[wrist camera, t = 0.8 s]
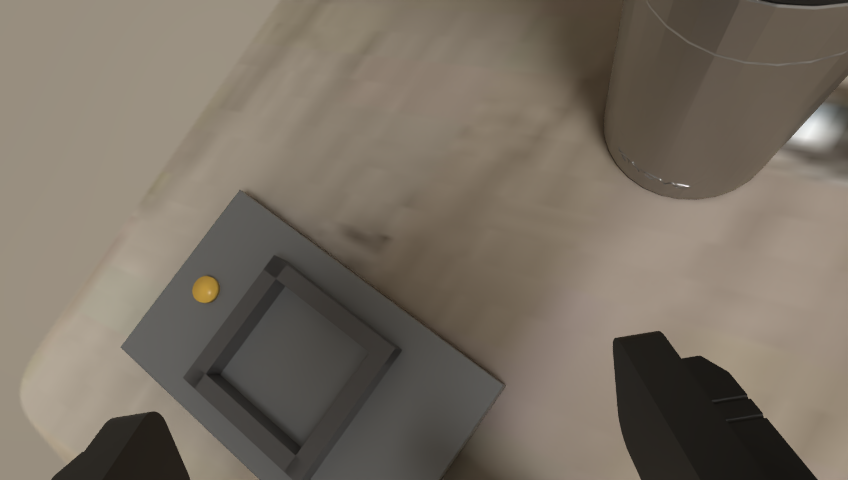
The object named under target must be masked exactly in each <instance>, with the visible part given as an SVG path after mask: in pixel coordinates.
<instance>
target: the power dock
mask: <svg viewBox="0 0 848 480" xmlns="http://www.w3.org/2000/svg"><path fill="white" fill-rule="evenodd" d="M121 348H122V349H123V350H124V351H125V352H126V353H127V354H128V355H129V356H130V357H131V358H132V359H133V360H134V361H136V362H137V363H138V364H139V365H140V366H141V367H142V368H143V369H144V370H145V371H146V372H147V373H148V374H149V375H150V376H151V377H152V378H153V379H154V380H156V381H157V382H158V383H159V384H160V385H161V386H162V387H163V388H164V389H165V390H166V391H167V392H168V393H169V394H170V395H171V396H172V397H173V398H174V399H176V400H177V401H178V402H179V403H180V404H181V405H182V406H183V407H184V408H185V409H186V410H187V411H188V412H189V413H190V414H191V415H192V416H193V417H194V418H196V419H197V420H198V421H199V422H200V423H201V424H202V425H203V426H204V427H205V428H206V429H207V430H208V431H209V432H210V433H211V434H212V435H213V436H214V437H215V438H217V439H218V440H219V441H220V442H221V443H222V444H223V445H224V446H225V447H226V448H227V449H228V450H229V451H230V452H231V453H232V454H233V455H234V456H235V457H237V458H238V459H239V460H240V461H241V462H242V463H243V464H244V465H245V466H246V467H247V468H248V469H249V470H250V471H251V472H252V473H253V474H254V475H255V476H257V477H258V478H259V479H260V480H441V479H442V477H443V476H444V475H445V473H446V472H447V470H448V469H449V467H450V466H451V464H452V463H453V462H454V460H455V459H456V457H457V456H458V454H459V453H460V451H461V450H462V449H463V447H464V446H465V444H466V443H467V441H468V440H469V438H470V437H471V436H472V434H473V433H474V431H475V430H476V428H477V427H478V425H479V424H480V423H481V421H482V420H483V418H484V417H485V415H486V414H487V412H488V411H489V410H490V408H491V407H492V405H493V404H494V402H495V401H496V399H497V398H498V397H499V395H500V394H501V392H502V391H503V389H504V388H505V386H506V385H504V384H503V383H502V382H500V381H499V380H498V379H496V378H495V377H494V376H492V375H491V374H490V373H488V372H487V371H486V370H484V369H483V368H481V367H480V366H479V365H477V364H476V363H475V362H473V361H472V360H471V359H469V358H468V357H467V356H465V355H464V354H463V353H461V352H460V351H459V350H457V349H456V348H454V347H453V346H452V345H450V344H449V343H448V342H446V341H445V340H444V339H442V338H441V337H440V336H438V335H437V334H436V333H434V332H433V331H432V330H430V329H429V328H427V327H426V326H425V325H423V324H422V323H421V322H419V321H418V320H417V319H415V318H414V317H413V316H411V315H410V314H409V313H407V312H406V311H405V310H403V309H402V308H400V307H399V306H398V305H396V304H395V303H394V302H392V301H391V300H390V299H388V298H387V297H386V296H384V295H383V294H382V293H380V292H379V291H378V290H376V289H375V288H373V287H372V286H371V285H369V284H368V283H367V282H365V281H364V280H363V279H361V278H360V277H359V276H357V275H356V274H355V273H353V272H352V271H351V270H349V269H348V268H346V267H345V266H344V265H342V264H341V263H340V262H338V261H337V260H336V259H334V258H333V257H332V256H330V255H329V254H328V253H326V252H325V251H324V250H322V249H321V248H319V247H318V246H317V245H315V244H314V243H313V242H311V241H310V240H309V239H307V238H306V237H305V236H303V235H302V234H301V233H299V232H298V231H297V230H295V229H294V228H292V227H291V226H290V225H288V224H287V223H286V222H284V221H283V220H282V219H280V218H279V217H278V216H276V215H275V214H274V213H272V212H271V211H270V210H268V209H267V208H265V207H264V206H263V205H261V204H260V203H259V202H257V201H256V200H255V199H253V198H252V197H250V196H249V195H247V194H246V193H244V192H243V191H241V190H239V192H238V193H237V194H236V196H235V197H234V198H233V200H232V201H231V202H230V204H229V205H228V206H227V208H226V209H225V210H224V212H223V213H222V214H221V215H220V217H219V218H218V219H217V221H216V222H215V223H214V225H213V226H212V227H211V229H210V230H209V231H208V233H207V234H206V235H205V237H204V238H203V239H202V241H201V242H200V243H199V244H198V246H197V247H196V248H195V250H194V251H193V252H192V254H191V255H190V256H189V258H188V259H187V260H186V262H185V263H184V264H183V266H182V267H181V268H180V270H179V271H178V272H177V273H176V275H175V276H174V277H173V279H172V280H171V281H170V283H169V284H168V285H167V287H166V288H165V289H164V291H163V292H162V293H161V295H160V296H159V297H158V299H157V300H156V301H155V303H154V304H153V305H152V306H151V308H150V309H149V310H148V312H147V313H146V314H145V316H144V317H143V318H142V320H141V321H140V322H139V324H138V325H137V326H136V328H135V329H134V330H133V332H132V333H131V334H130V335H129V337H128V338H127V339H126V341H125V342H124V343H123V345H122V346H121Z"/></svg>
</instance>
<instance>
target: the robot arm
mask: <svg viewBox="0 0 848 480" xmlns="http://www.w3.org/2000/svg"><path fill="white" fill-rule="evenodd" d="M847 76H848V0H624V2H623V8H622V14H621V20H620V25H619V31H618V37H617V43H616V49H615V55H614V61H613V66H612V72H611V78H610V83H609V89H608V95H607V102H606V108H605V114H604V120H603V121H604V136H605V139H606V143H607V146H608V149H609V152H610V153H611V155H612V157H613V159H614V160H615V162H616V164H617V165H618V166H619V167H620V168H621V170H622V171H623V172H624V173H625V174H626V175H627V176H628V177H629V178H630V179H632V180H633V181H635V182H636V183H638V184H639V185H640V186H642V187H643V188H646V189H648V190H650V191H652V192H655V193H657V194H659V195H663V196H668V197H672V198H676V199H695V200H697V199H704V198H711V197H716V196H719V195H722V194H725V193H728V192H730V191H733V190H735V189H737V188H738V187H740V186H741V185H743V184H745V183H746V182H748V181H750V180H751V179H752V178H753V177H754V176H755V175H756V174H757V173H758V172H759V171H760V170H761V169H762V168H763V167H764V166H765V165H766V164H767V163H768V162H769V160H770V159H771V158H772V157H773V156H774V155H775V154H776V153H777V152H778V151H779V150H780V148H782V147H783V145H784V144H785V143H786V142H787V141H788V140H789V139H790V138H791V137H792V136H793V135H794V134H795V133H796V132H797V130H798V129H799V128H800V127H801V126H802V125H803V124H804V123H805V122H806V121H807V119H808V118H809V117H810V116H811V115H812V114H813V113H814V112H815V111H816V110H817V109H818V107H819V106H820V105H821V104H822V103H823V102H824V101H825V100H826V99H827V98H828V96H829V95H830V94H831V93H832V92H833V91H834V90H835V89H836V88H837V87H838V86H839V84H840V83H841V82H842V81H843V80H844V79H845V78H846V77H847ZM613 357H614V369H615V382H616V394H617V406H618V416H619V422H620V427H621V431H622V435H623V438H624V441H625V444H626V447H627V450H628V452H629V454H630V456H631V458H632V461H633V463H634V465H635V467H636V469H637V472H638V474H639V476H640V478H641V480H817V478H816V477H815V476H814V475H813V474H812V472H811V471H810V470H809V469H808V467H807V466H806V465H805V464H804V463H803V461H802V460H801V459H800V458H799V457H798V455H797V454H796V453H795V452H794V451H793V449H792V448H791V447H790V446H789V445H788V443H787V442H786V441H785V440H784V438H783V437H782V436H781V435H780V434H779V432H778V431H777V430H776V429H775V428H774V426H773V425H772V424H771V423H770V422H769V420H768V419H767V418H764V417H763V413H762V412H761V411H760V409H759V408H758V407H757V406H756V405H755V403H754V402H753V401H752V400H751V399H748V397H747V394H746V393H745V391H744V390H743V389H742V388H741V386H740V385H739V384H738V383H737V382H736V380H735V379H734V378H733V377H732V376H731V374H730V373H729V372H727V371H726V370H724V369H722V368H721V367H719V366H717V365H715V364H714V363H712V362H710V361H709V360H707V359H705V358H703V357H702V356H695V357H688V358H682V359H681V358H680V356H679V355H678V354H677V352H676V351H675V349H674V348H673V347H672V345H671V344H670V343H669V341H668V340H667V338H666V337H665V336H664V334H663V333H662V332H660V331H656V332H649V333H643V334H637V335H631V336H625V337H618V338H615V339H614V341H613ZM52 480H190V477H189V475H188V472H187V470H186V468H185V465H184V463H183V461H182V459H181V456H180V454H179V452H178V449H177V447H176V445H175V442H174V440H173V438H172V435H171V433H170V431H169V429H168V426H167V424H166V422H165V420H164V418H163V417H162V416H161V415H160V414H159V413H157V412H147V413H141V414H135V415H129V416H123V417H117V418H112V419H110V420H109V421H107V422H106V423H105V425H104V426H103V427H102V429H101V430H100V431H99V433H98V434H97V435H96V437H95V438H94V439H93V441H92V442H91V443H90V445H89V446H88V447H87V449H86V450H85V451H84V452H82V453H81V454H80V455H78V456H77V457H76V458H75V459H74V460H72V461H71V462H70V463H69V464H68V465H67V466H65V467H64V468H63V469H62V470H61V471H59V472H58V473H57V474H56V475H55V476H54V477H53V478H52Z"/></svg>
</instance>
